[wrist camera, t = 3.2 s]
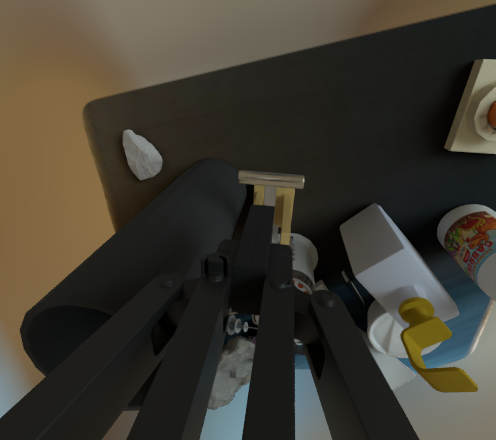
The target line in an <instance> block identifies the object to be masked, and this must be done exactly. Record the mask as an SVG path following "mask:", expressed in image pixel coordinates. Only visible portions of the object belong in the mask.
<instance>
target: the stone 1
mask: <svg viewBox="0 0 496 440" xmlns="http://www.w3.org/2000/svg"><path fill="white" fill-rule="evenodd" d="M122 139H123V147H124V149H125V153H126V157H127V161H128V165H129V166H130V168H131V170H132V171H133V173H134V174H135V175H136V176H137V177H138V179H139V180H144V179H147V178H151V177H154V176H155V175H156V174H157V173H159V172H160V170H161V167H162V157H161V155H160V154H159V152H158V151H157V150H156V149H155V148H154V146H153V145H152V144H151V143H149V142H148V141H147V140H146V139H145V138H144V137H142V136H139V135H136V134H135V133H134V132H133V131H132V130H125V131H124V132H123V138H122Z"/></svg>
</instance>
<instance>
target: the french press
mask: <svg viewBox="0 0 496 440" xmlns="http://www.w3.org/2000/svg"><path fill="white" fill-rule="evenodd" d="M290 236H293V247H292V248H291V249H292V250H293V283H294V285H295V286H296V287H297V288H298V289H300V290H301V291H303V292H305V293H308V294H312V293H313V292H314V291H316V290H315V281H314V277H313V276H314V271H313V270H314V269H315V268H316V265H317V261H318V254H317V249H316V248H315V246H314V245H313V244H312V242H311V241H310V240H309V239H307V238H305V237H303V236H302V235H300V234H294V233H290ZM277 244H280V234H278V235H277ZM308 277H309V279H308V280H307V278H308ZM310 279H311V280H310ZM306 280H307V282H305V281H306ZM309 280H310V282H309ZM308 282H309V284H308ZM311 282H312V284H311ZM310 284H311V286H310ZM313 284H314V285H313ZM309 286H310V287H309ZM312 286H313V289H311V288H312ZM255 319H256V322H257V323H256V322H255V321H254V316H253V315H252V320H253V323H254V324H257V325H258V322H259V315H255ZM294 342H300V341H299V340H297V339H294ZM295 406H296V403H295Z"/></svg>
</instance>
